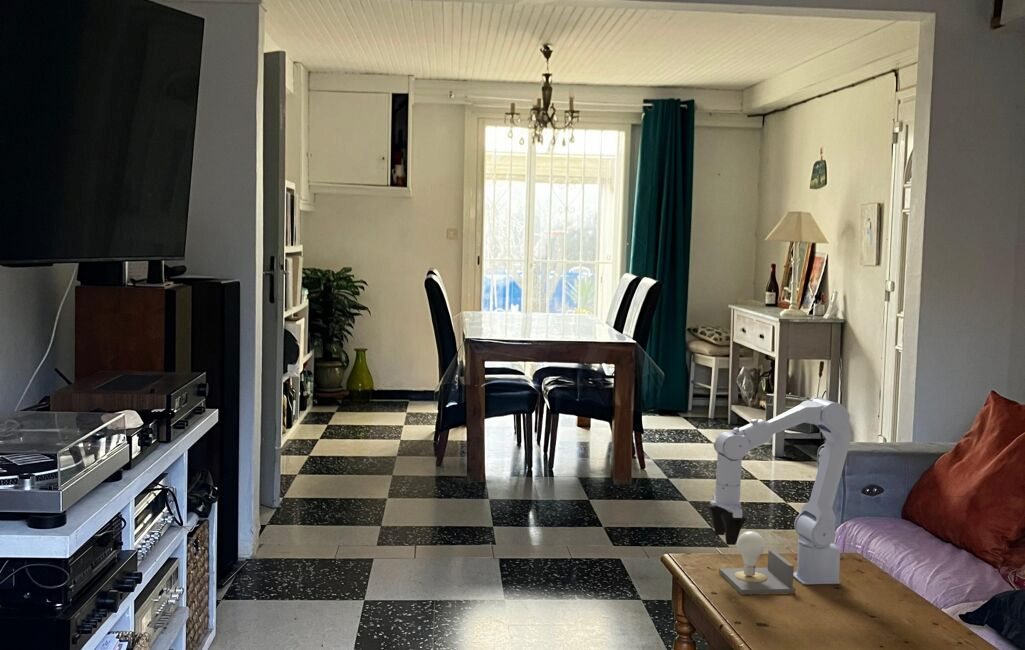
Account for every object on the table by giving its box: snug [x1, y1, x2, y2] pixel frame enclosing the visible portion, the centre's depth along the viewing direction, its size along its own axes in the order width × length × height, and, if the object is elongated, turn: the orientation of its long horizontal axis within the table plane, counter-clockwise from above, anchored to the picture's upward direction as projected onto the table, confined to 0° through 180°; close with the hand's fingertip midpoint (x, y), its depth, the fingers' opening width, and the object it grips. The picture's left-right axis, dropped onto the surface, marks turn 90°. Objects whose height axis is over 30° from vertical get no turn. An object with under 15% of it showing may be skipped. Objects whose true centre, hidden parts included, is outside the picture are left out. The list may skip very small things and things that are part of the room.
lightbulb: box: [736, 530, 765, 577], centre depth 234 cm, size 6×6×11 cm
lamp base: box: [718, 549, 796, 596], centre depth 234 cm, size 13×15×6 cm
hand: (725, 539), depth 233 cm, fingers open, 7 cm apart
